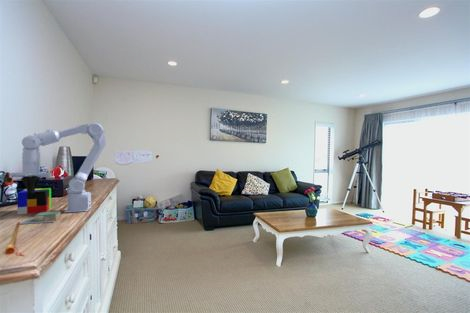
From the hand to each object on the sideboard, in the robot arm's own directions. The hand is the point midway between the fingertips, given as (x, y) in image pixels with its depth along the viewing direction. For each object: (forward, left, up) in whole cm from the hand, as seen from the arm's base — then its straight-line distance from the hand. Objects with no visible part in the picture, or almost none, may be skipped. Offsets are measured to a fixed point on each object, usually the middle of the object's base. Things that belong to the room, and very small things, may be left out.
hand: (31, 193), depth 102 cm
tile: (-6, +10, -8) cm, 14 cm away
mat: (-8, +10, -10) cm, 16 cm away
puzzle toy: (+2, -9, -10) cm, 14 cm away
